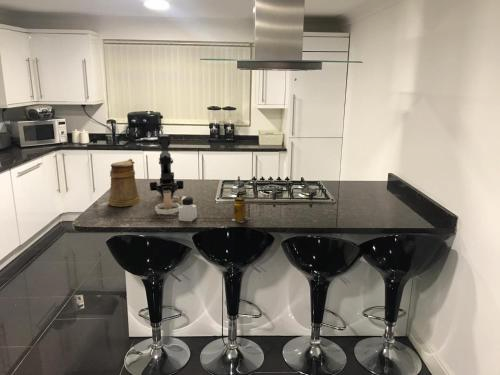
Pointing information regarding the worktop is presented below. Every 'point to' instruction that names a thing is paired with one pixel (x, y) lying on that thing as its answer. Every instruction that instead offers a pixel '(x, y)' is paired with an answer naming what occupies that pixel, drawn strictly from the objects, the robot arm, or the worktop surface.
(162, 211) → the dish
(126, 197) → the tankard
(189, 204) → the medicine bottle
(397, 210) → the worktop surface
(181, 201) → the parts tray
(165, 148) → the robot arm
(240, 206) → the condiment
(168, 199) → the spice jar
